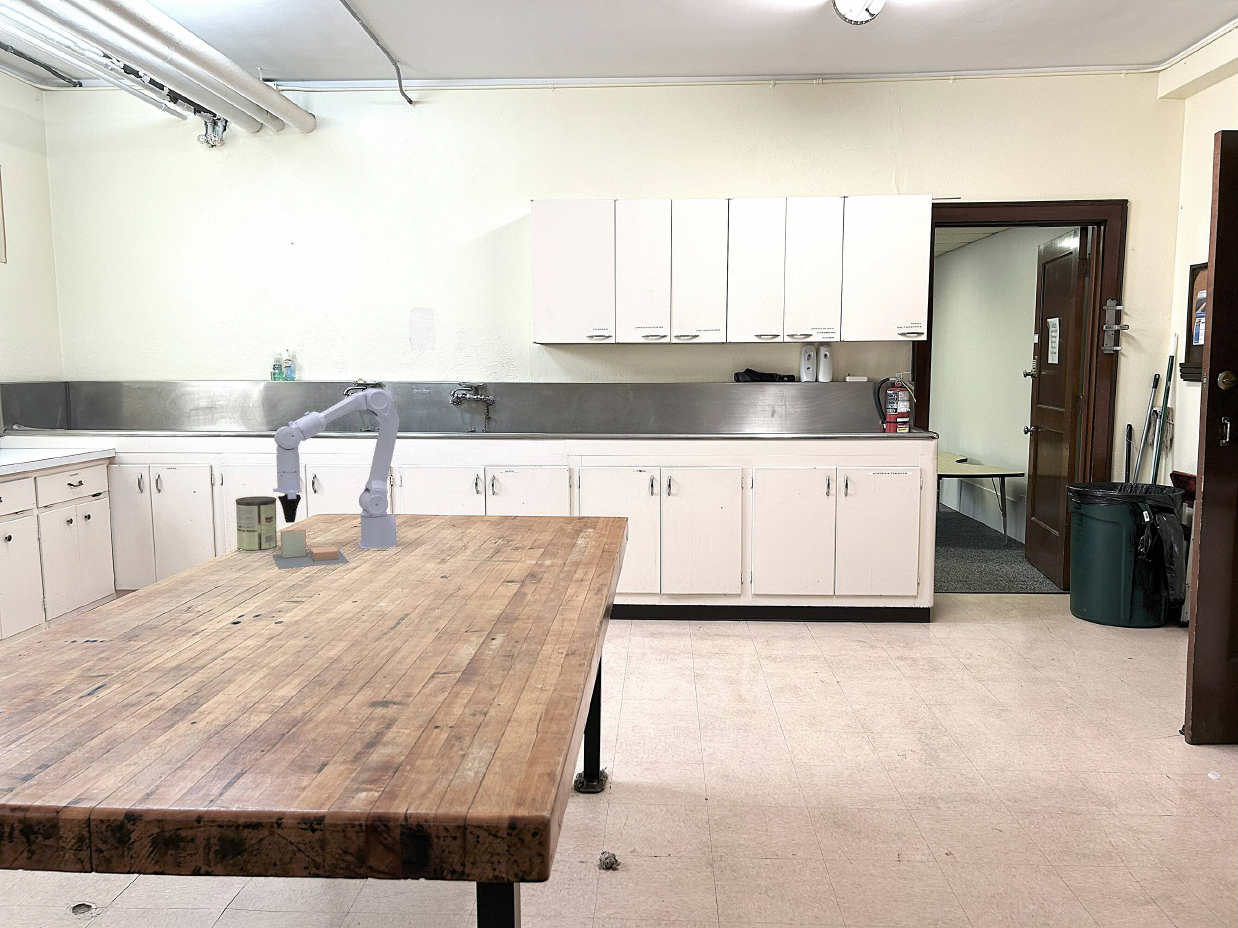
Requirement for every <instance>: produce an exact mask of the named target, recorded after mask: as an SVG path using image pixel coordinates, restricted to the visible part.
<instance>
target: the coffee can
mask: <svg viewBox="0 0 1238 928" xmlns="http://www.w3.org/2000/svg"><path fill="white" fill-rule="evenodd" d="M235 503H236V504H235V510H236V511H235V512H236V513H235V515H236V516H235V517H236V544H237V545H236V547H237V548H236V550H237V552H240V553H246V554H247V553H265V552H269V551H273V550H276V549H278V545H277V543H278V540H277V497H273V496H268V495H267V496H265V495H263V496H262V495H261V496H259V495H258V496H257V495H256V496H244V497H240V498H239V497H238V498H236V499H235ZM240 549H242V550H240ZM238 550H240V551H238Z"/></svg>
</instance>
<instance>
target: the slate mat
mask: <svg viewBox="0 0 1238 928" xmlns="http://www.w3.org/2000/svg"><path fill="white" fill-rule="evenodd" d="M337 550H338V559H334V560H323V561H314V560H313V558H312V557H311V554H310V551H306V555H307V556H306V557H294V558H283V559H282V557H281V554H280V553H279V554H272V555H271V556H272V558H273V561H274V563H275V564H276V567H277V569H278V570H287V569H297V568H307V567H308V568H309V567H320V566H329V565H330V566H332V565H339V564H340V565H341V564H342V565H343V564H350V563H351V562H350V561H349V559H347V557H346V556H345V555H344V553H342V551H341V550H340V549H337Z"/></svg>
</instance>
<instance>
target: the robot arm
mask: <svg viewBox="0 0 1238 928" xmlns="http://www.w3.org/2000/svg"><path fill="white" fill-rule="evenodd" d="M353 411H368V412H369V413H371V414H372V415H373V416H374V417H375V419H376V420H377V421H378V423H379V430H378V433H377V434H378V435H377V439H376V442H375V443H376V444H375V448H374V453H373V456H372V462H371V467H370V471H369V476H368V479H367V481H366V483H365V485H364V489H363V491H362V492H361V493H360V496H359V497H358V504H359V506H360V508H361V509H362V511H361V512H360V513H359V514H360V542H358V543H357V545H358V546H359V547H360V548H361V549H362V550H368V549H369V550H370V549H381V548H392V547H398V544H397V541H398V540H397V539H398V538H397V520H396V515H395V514H392V513H390V514H389V513H388V512H387V510H388V508H389V500H388V491H389V489H388V480H389V474H390V469H391V466H392V465H391V464H392V460H393V455H394V450H395V446H396V443H397V442H396V440H397V437H398V431H399V427H400V417H399V415H398V411H397V409H396V406H395V401H394V399H393V397H392V396H391V395H390V394H389V393H388V392H387V391H386V390H384V389H383V388H373V387H369V388H367V389H366V388H365V389H364V391H359V392H356V393H354V394H351V395H349V396H348V397H346V398H345V399H343V400H341V401H339V402H337V403H336V404H334V405H332V406H331V407H329V408H327V409H325V410H324V411H322V412H317V411H312V412H310V411H306V412H305V413H304V416H302V417H300V418H298V419H297V420H294V421H292V420H291V421H288V423H287V424H288V426H282V427H279V428H278V429H277V430H276V432H275V433H274V436H273V439H274V442H275V444H276V448H275V449H276V456H275V457H276V458H275V460H276V482H277V488H275V487H274V488H272V492H273V493H281V494H283V495H278V496H277V499H278V501H279V503H280V504H281V508H282V513H283V517H284V520H285V523H286V524H287V523H288V524H289V523H295V521H296V518H297V517H296V516H297V512H298V511H297V510H298V507H299V504H300V502H301V500H302V496H301V495H300V494H299V492H302V487H301V471H300V469H301V468H300V467H301V466H300V463H301V462H300V454H299V446H300V444H301V441H302V442H305V441H308V440H309V439H311V438H312V437H315V436H316V435H318V434H320V433H322V432H324V431H325V430H326V427H327V424H328V423H331V422H332V421H334V420H336V419H338V418H340V417H342V416H345V415H347V414H349V413H351V412H353Z"/></svg>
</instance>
